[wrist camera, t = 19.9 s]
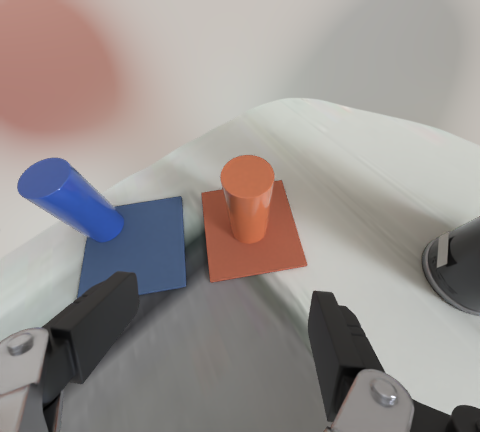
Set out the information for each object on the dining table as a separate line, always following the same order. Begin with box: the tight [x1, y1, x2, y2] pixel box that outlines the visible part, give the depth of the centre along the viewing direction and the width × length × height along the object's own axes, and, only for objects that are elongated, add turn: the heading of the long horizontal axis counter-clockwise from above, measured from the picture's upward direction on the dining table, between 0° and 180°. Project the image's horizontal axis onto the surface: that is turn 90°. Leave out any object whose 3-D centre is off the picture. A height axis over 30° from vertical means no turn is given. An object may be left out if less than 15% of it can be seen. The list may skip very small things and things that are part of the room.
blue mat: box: [77, 196, 186, 298], centre depth 31 cm, size 13×13×1 cm
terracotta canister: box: [220, 155, 274, 244], centre depth 27 cm, size 5×5×11 cm
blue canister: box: [17, 158, 124, 243], centre depth 28 cm, size 5×5×11 cm
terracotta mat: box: [202, 180, 307, 282], centre depth 32 cm, size 12×13×1 cm
